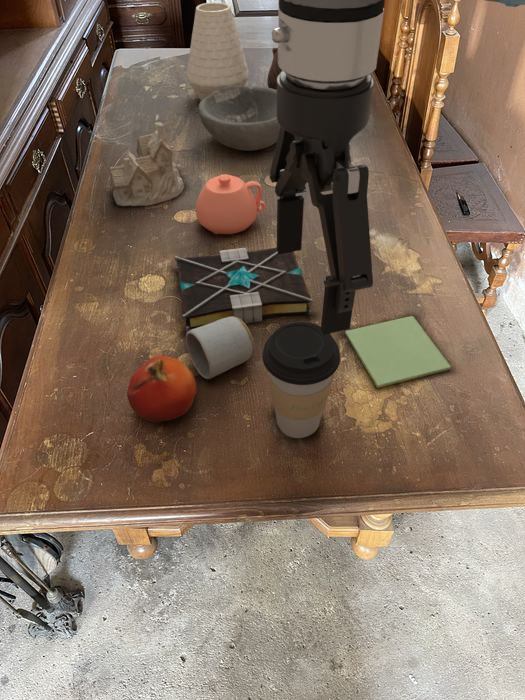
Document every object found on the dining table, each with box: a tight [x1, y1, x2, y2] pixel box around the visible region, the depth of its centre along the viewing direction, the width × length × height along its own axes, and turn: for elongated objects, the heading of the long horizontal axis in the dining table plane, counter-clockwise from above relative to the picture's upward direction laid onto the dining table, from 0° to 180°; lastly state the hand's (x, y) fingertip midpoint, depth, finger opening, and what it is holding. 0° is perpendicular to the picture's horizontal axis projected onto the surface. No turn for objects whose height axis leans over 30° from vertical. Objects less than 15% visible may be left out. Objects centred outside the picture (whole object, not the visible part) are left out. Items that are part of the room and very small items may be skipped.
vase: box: [185, 2, 250, 101], centre depth 146 cm, size 17×17×23 cm
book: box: [174, 246, 314, 333], centre depth 93 cm, size 22×17×5 cm
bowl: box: [197, 85, 280, 151], centre depth 132 cm, size 23×22×10 cm
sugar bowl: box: [195, 173, 266, 235], centre depth 106 cm, size 12×14×10 cm
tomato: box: [126, 355, 198, 423], centre depth 74 cm, size 9×9×8 cm
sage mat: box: [344, 315, 452, 389], centre depth 84 cm, size 12×12×1 cm
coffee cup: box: [261, 321, 341, 439], centre depth 70 cm, size 9×9×15 cm
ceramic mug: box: [185, 316, 255, 380], centre depth 81 cm, size 11×8×8 cm
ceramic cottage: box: [109, 121, 185, 207], centre depth 115 cm, size 16×16×15 cm
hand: (310, 287), depth 57 cm, fingers open, 13 cm apart
